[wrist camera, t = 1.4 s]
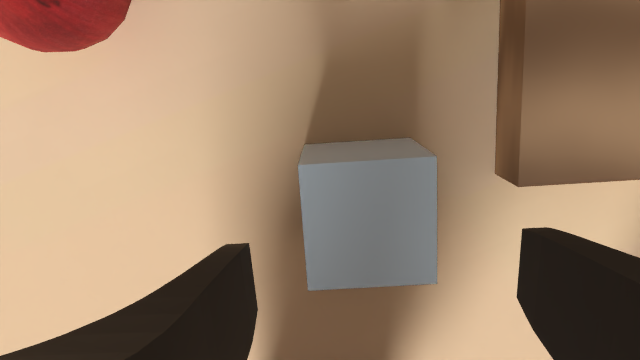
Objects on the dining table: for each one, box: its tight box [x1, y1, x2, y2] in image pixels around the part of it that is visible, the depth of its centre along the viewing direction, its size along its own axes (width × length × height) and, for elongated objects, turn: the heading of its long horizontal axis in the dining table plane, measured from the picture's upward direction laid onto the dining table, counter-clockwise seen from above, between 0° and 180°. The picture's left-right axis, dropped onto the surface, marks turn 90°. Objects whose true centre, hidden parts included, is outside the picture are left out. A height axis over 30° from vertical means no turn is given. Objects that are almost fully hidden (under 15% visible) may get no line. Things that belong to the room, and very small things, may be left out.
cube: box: [298, 138, 437, 291], centre depth 18 cm, size 5×5×5 cm
